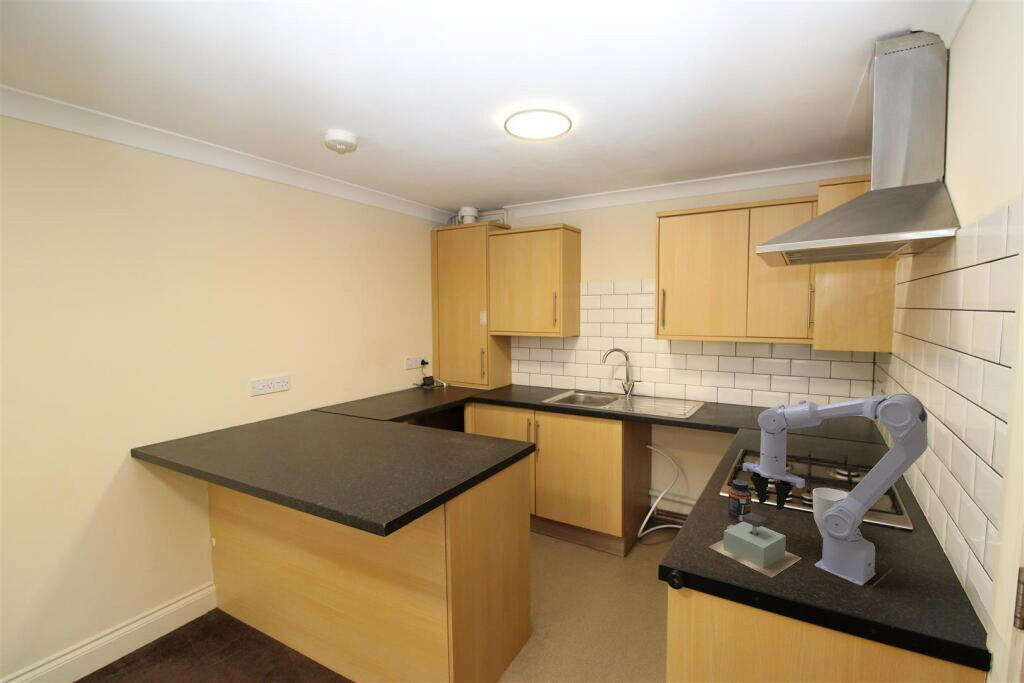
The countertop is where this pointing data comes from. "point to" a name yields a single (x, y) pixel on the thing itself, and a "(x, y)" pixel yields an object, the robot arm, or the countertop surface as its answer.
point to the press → (754, 544)
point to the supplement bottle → (739, 501)
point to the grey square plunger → (754, 521)
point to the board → (769, 570)
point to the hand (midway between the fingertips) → (771, 505)
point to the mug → (824, 502)
